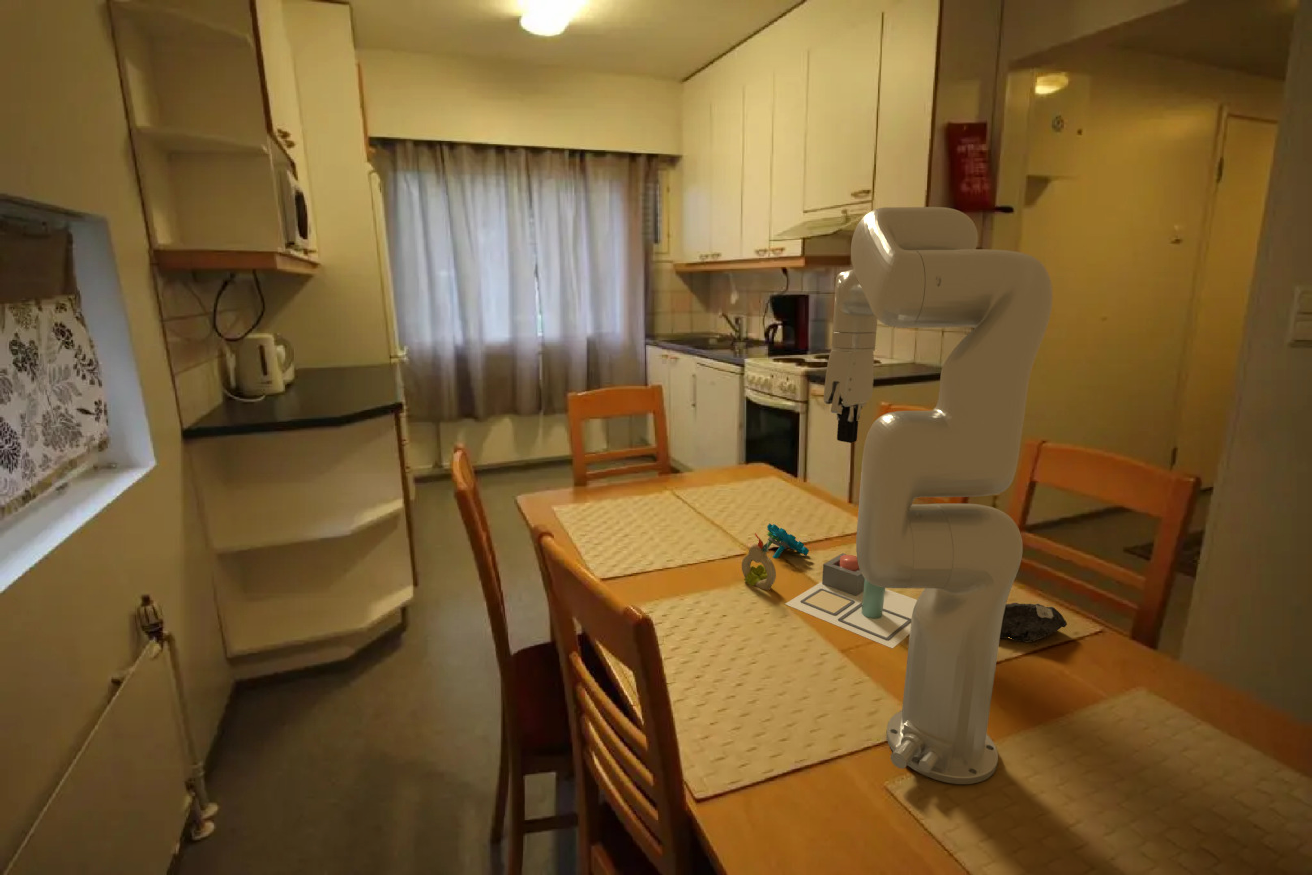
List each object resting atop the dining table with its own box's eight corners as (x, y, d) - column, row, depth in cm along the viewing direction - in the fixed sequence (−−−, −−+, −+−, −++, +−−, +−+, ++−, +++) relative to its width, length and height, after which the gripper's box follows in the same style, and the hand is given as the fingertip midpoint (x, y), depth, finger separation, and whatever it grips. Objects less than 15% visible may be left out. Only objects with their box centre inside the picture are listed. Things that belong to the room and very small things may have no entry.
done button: (852, 589, 120) (854, 564, 118) (834, 583, 122) (836, 558, 121) (861, 583, 122) (863, 558, 121) (844, 577, 125) (846, 553, 123)
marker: (876, 620, 109) (883, 560, 106) (857, 613, 111) (863, 553, 109) (886, 613, 111) (892, 554, 109) (866, 606, 114) (872, 548, 111)
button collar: (856, 596, 117) (857, 575, 116) (822, 583, 122) (823, 564, 121) (874, 583, 122) (876, 564, 121) (841, 572, 127) (842, 553, 126)
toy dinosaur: (819, 555, 132) (789, 526, 129) (803, 578, 131) (772, 550, 128) (788, 542, 142) (759, 515, 139) (773, 564, 141) (743, 538, 138)
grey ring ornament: (796, 587, 122) (799, 530, 119) (761, 598, 118) (764, 539, 115) (770, 572, 128) (772, 518, 126) (737, 582, 124) (738, 525, 122)
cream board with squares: (892, 651, 101) (892, 647, 101) (784, 606, 115) (784, 603, 115) (939, 610, 113) (940, 607, 113) (837, 574, 127) (837, 571, 127)
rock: (994, 616, 100) (1015, 567, 105) (962, 628, 108) (982, 581, 112) (1063, 666, 98) (1080, 613, 103) (1025, 674, 106) (1043, 625, 111)
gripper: (855, 337, 124) (848, 431, 128) (812, 343, 114) (807, 444, 118) (892, 340, 119) (884, 437, 123) (851, 346, 108) (844, 452, 113)
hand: (846, 440), depth 121 cm, fingers closed
